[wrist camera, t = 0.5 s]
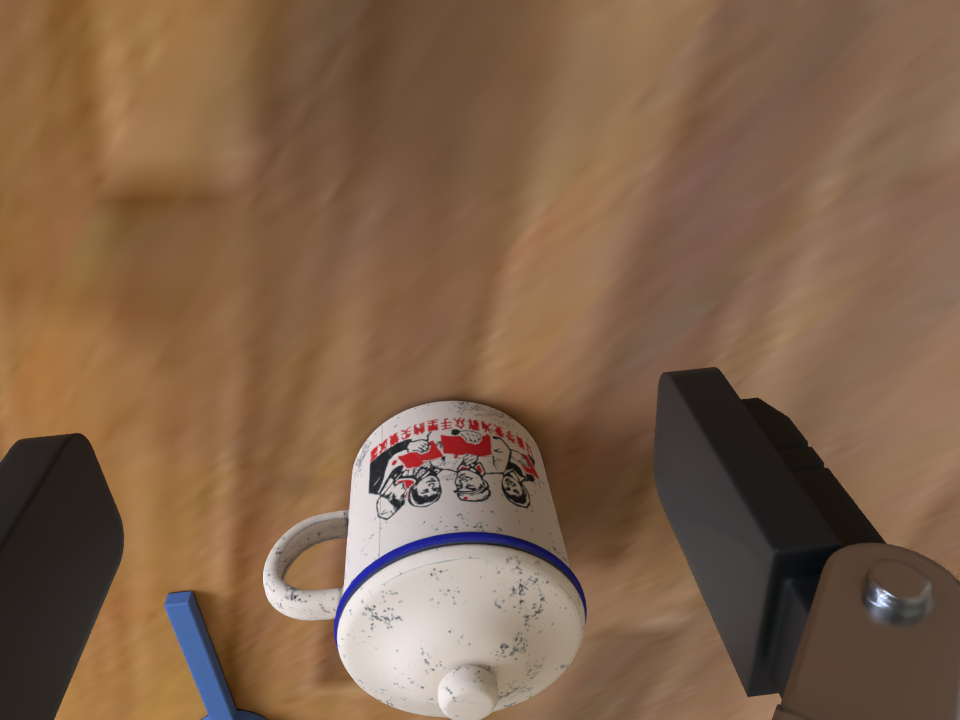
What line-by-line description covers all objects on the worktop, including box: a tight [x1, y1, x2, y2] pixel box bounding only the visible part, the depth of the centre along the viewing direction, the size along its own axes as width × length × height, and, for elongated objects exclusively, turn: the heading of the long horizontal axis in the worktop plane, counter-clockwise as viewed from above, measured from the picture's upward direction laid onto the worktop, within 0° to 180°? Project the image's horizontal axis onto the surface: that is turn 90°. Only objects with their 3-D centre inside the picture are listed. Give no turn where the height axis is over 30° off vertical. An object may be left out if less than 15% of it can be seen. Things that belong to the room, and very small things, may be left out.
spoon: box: [164, 591, 266, 720], centre depth 40 cm, size 14×4×1 cm, turn 3°
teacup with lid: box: [263, 401, 587, 720], centre depth 30 cm, size 12×9×12 cm
